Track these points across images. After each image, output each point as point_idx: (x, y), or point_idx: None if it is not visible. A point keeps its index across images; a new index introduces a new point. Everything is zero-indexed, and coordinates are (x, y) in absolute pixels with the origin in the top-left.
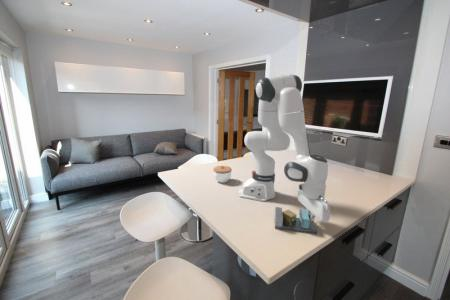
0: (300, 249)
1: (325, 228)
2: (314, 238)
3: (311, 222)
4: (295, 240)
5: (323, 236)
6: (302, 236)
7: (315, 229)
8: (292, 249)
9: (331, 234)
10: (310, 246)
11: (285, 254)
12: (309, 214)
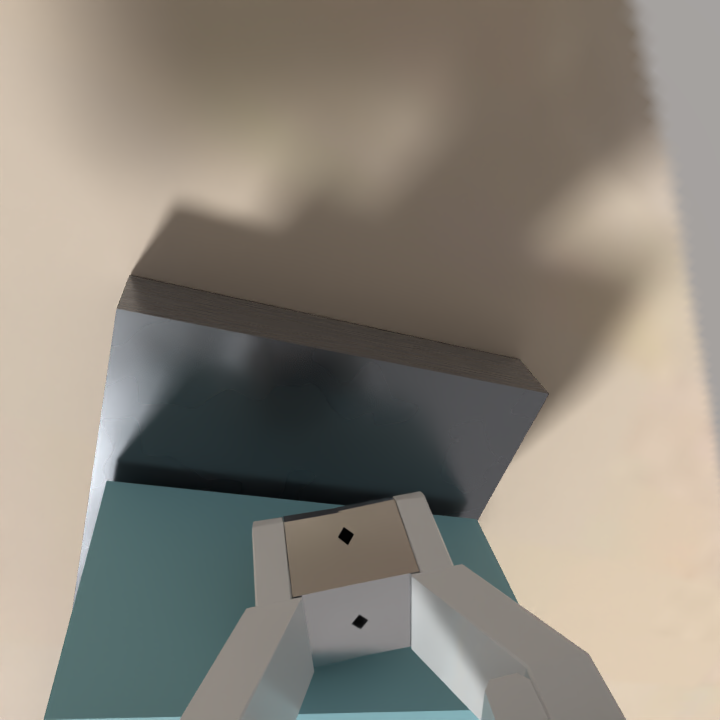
0: (686, 606)
1: (402, 86)
2: (603, 433)
3: (262, 398)
4: (556, 623)
5: (615, 282)
6: (517, 553)
7: (510, 411)
8: (655, 656)
9: (626, 78)
10: (699, 519)
11: (678, 697)
12: (308, 660)
